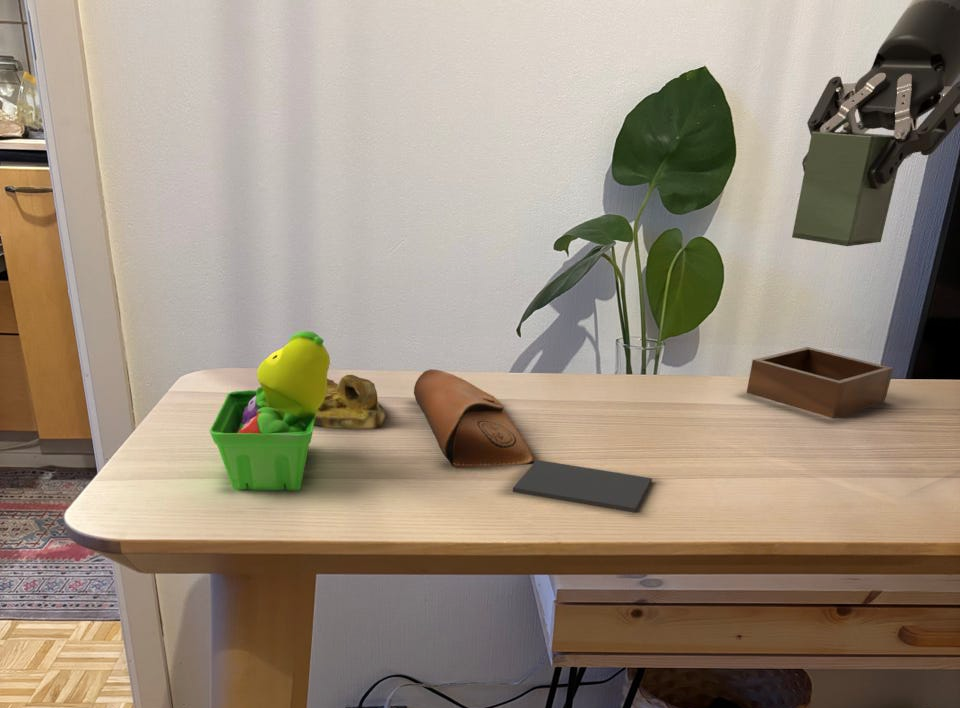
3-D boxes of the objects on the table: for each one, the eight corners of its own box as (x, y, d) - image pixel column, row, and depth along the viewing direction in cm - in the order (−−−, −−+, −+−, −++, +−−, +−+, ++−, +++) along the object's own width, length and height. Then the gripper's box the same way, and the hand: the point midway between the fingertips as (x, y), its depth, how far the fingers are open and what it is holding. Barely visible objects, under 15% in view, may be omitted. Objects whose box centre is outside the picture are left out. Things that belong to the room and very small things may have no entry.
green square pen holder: (825, 233, 95) (846, 131, 91) (881, 242, 92) (905, 136, 87) (791, 237, 92) (811, 131, 87) (847, 246, 88) (871, 136, 83)
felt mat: (651, 484, 80) (652, 477, 79) (635, 515, 74) (636, 508, 74) (536, 466, 82) (536, 459, 82) (512, 494, 76) (512, 487, 76)
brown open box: (799, 384, 109) (807, 346, 107) (883, 407, 102) (893, 368, 100) (745, 398, 103) (752, 359, 100) (831, 424, 96) (840, 383, 94)
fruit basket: (233, 447, 83) (221, 313, 77) (336, 448, 84) (332, 316, 78) (214, 497, 73) (198, 348, 67) (330, 498, 74) (325, 351, 68)
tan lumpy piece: (238, 414, 94) (347, 449, 86) (229, 367, 91) (340, 399, 83) (307, 385, 100) (415, 415, 92) (300, 340, 97) (411, 367, 89)
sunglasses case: (542, 460, 82) (507, 394, 78) (471, 502, 82) (434, 439, 79) (494, 398, 97) (463, 341, 93) (435, 434, 98) (402, 378, 94)
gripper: (859, -1, 91) (762, 141, 90) (1012, -5, 81) (905, 153, 80) (874, 66, 96) (783, 200, 95) (1019, 70, 87) (919, 218, 86)
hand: (839, 178), depth 88 cm, fingers closed on green square pen holder, 6 cm apart
